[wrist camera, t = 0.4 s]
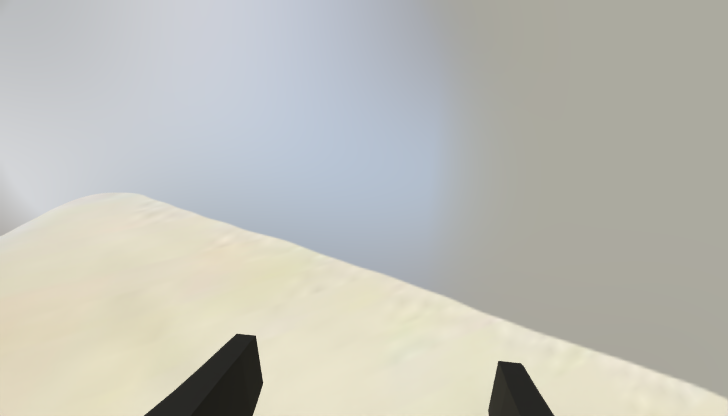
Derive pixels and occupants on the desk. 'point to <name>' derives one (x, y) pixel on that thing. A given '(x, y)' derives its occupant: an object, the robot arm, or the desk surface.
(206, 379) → the robot arm
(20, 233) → the desk surface
